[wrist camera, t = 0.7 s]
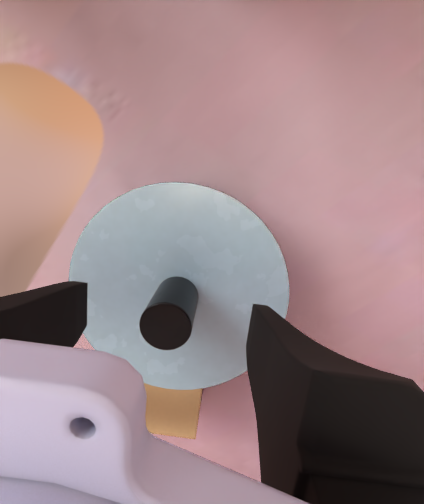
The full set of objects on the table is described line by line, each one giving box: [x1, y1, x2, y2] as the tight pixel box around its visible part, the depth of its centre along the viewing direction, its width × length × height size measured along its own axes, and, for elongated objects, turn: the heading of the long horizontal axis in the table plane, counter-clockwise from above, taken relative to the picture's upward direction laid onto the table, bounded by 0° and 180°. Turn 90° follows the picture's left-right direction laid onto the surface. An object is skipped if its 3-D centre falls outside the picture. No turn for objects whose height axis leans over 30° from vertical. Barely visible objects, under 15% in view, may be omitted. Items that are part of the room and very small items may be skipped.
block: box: [144, 383, 203, 439], centre depth 23 cm, size 4×4×4 cm
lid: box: [69, 182, 289, 390], centre depth 15 cm, size 13×13×5 cm
